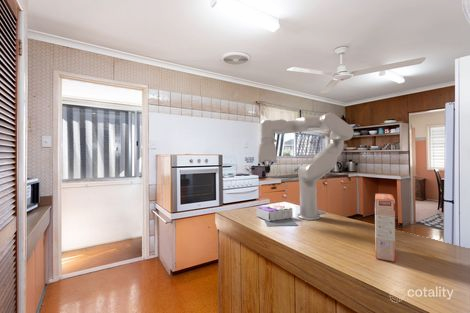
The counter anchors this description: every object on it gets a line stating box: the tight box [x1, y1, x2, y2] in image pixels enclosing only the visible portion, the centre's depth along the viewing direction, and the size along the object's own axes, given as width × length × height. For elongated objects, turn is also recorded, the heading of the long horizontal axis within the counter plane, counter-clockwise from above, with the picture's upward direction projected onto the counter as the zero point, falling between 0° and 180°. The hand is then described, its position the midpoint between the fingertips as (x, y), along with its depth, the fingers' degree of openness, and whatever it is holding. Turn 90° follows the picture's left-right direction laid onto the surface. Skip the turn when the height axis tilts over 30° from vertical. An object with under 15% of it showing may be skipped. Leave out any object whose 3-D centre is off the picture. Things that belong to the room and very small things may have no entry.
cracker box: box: [374, 193, 396, 263], centre depth 84 cm, size 14×6×21 cm, turn 148°
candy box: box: [256, 203, 293, 221], centre depth 136 cm, size 14×6×16 cm
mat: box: [263, 218, 299, 227], centre depth 131 cm, size 16×24×1 cm, turn 0°
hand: (267, 172), depth 135 cm, fingers closed
